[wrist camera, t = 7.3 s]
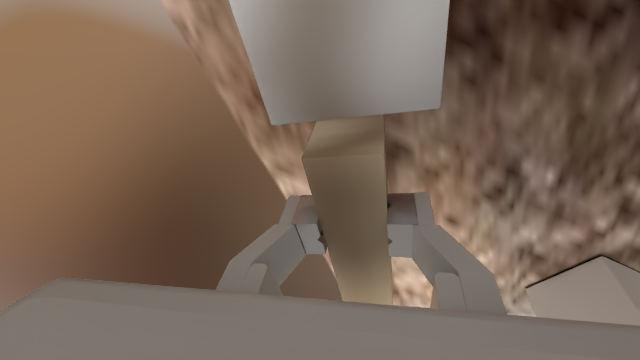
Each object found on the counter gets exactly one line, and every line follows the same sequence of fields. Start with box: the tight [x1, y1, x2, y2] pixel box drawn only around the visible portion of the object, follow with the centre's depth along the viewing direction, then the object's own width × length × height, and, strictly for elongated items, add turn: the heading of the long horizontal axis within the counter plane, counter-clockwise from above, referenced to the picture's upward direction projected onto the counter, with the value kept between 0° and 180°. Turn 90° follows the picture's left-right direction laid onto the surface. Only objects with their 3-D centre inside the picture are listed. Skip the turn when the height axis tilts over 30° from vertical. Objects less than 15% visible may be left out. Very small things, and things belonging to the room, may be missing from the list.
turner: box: [229, 0, 450, 305], centre depth 10 cm, size 6×17×3 cm, turn 11°
